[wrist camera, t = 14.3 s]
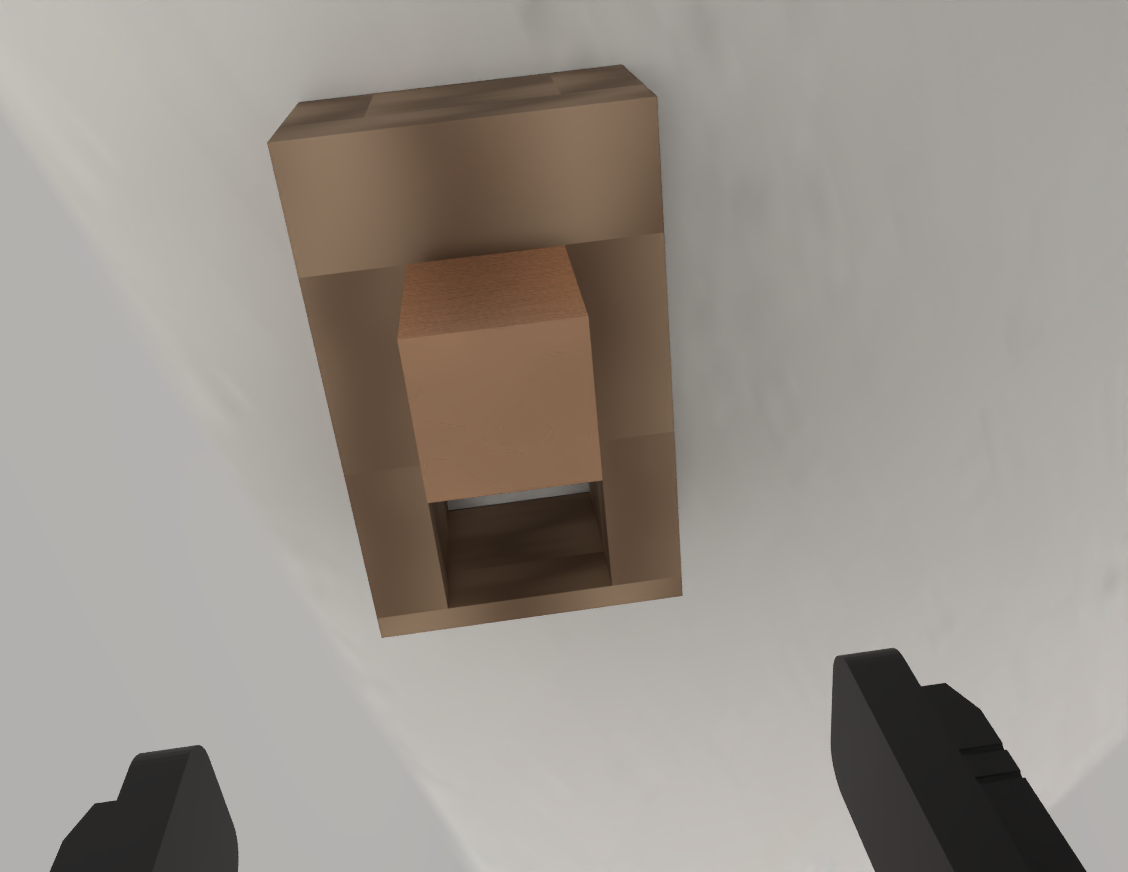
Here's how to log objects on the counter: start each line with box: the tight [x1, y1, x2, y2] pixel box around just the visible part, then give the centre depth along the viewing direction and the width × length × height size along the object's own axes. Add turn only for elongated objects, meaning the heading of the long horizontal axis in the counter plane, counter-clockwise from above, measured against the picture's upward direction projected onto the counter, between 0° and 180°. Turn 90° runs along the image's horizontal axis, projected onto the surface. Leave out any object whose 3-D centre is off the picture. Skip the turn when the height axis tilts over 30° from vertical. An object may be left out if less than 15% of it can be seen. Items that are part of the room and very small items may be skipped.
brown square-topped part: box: [397, 245, 603, 503], centre depth 28 cm, size 4×4×13 cm
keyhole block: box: [267, 65, 682, 638], centre depth 32 cm, size 10×16×6 cm, turn 6°
